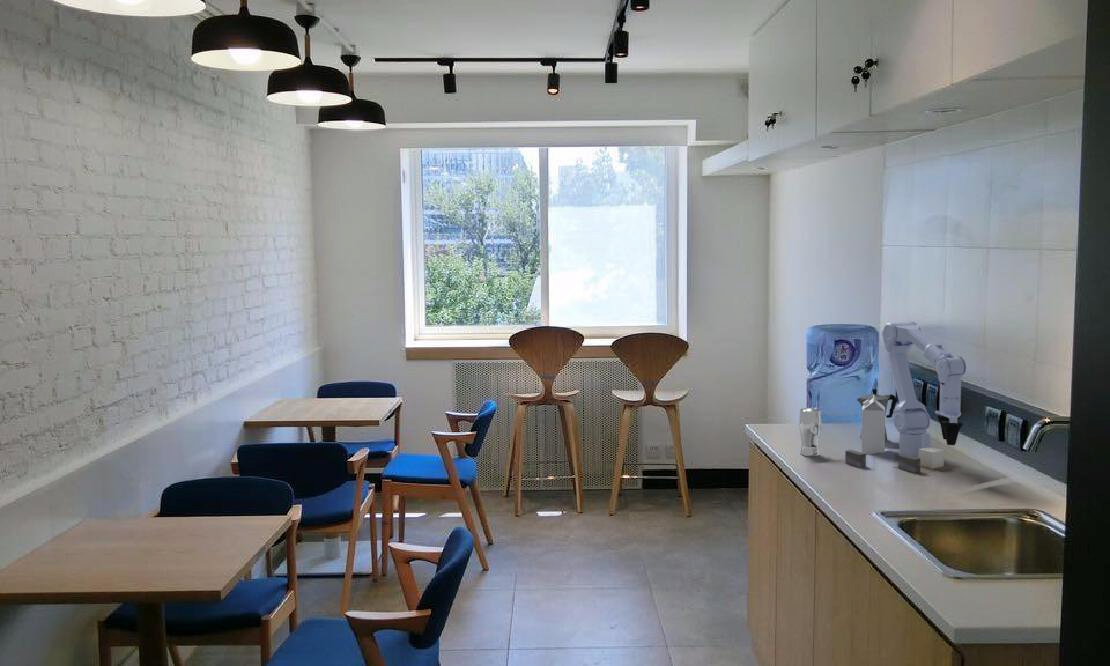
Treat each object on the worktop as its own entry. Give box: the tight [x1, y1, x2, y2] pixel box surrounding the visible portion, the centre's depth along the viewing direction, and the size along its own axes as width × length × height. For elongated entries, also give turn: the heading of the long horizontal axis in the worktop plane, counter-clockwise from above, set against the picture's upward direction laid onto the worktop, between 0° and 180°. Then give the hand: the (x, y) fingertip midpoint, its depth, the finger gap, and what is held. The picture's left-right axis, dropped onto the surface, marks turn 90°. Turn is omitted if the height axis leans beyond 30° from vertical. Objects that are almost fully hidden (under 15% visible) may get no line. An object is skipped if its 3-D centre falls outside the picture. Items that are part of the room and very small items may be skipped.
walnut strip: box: [892, 454, 960, 476], centre depth 272 cm, size 18×10×5 cm, turn 118°
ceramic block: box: [919, 446, 945, 469], centre depth 273 cm, size 5×5×5 cm
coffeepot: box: [856, 388, 898, 442], centre depth 314 cm, size 15×9×18 cm, turn 103°
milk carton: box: [860, 395, 886, 456], centre depth 294 cm, size 7×7×19 cm
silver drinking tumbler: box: [798, 407, 822, 458], centre depth 295 cm, size 7×7×15 cm
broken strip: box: [844, 449, 867, 468], centre depth 279 cm, size 18×9×5 cm, turn 118°
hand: (949, 442), depth 268 cm, fingers open, 7 cm apart
